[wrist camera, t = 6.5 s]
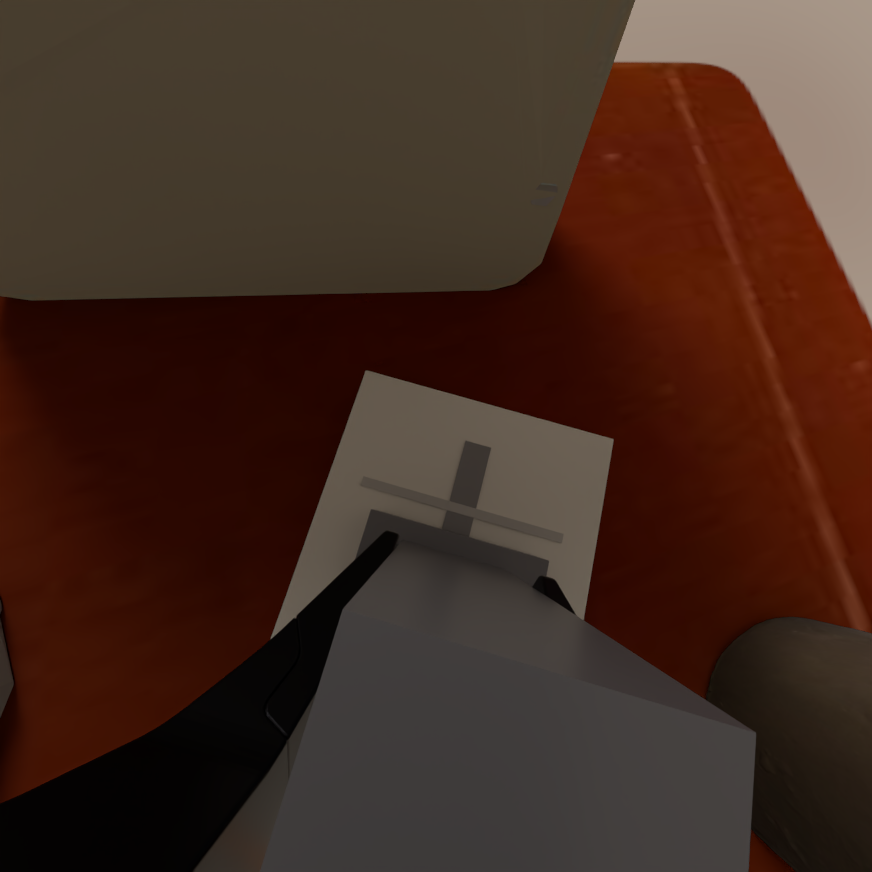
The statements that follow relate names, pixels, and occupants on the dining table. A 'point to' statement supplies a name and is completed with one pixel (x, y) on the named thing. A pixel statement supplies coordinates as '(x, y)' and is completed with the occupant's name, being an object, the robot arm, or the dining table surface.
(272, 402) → the dining table surface
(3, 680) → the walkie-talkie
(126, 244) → the radio
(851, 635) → the pillar candle
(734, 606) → the dining table surface
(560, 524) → the fader console
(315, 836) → the fader handle
